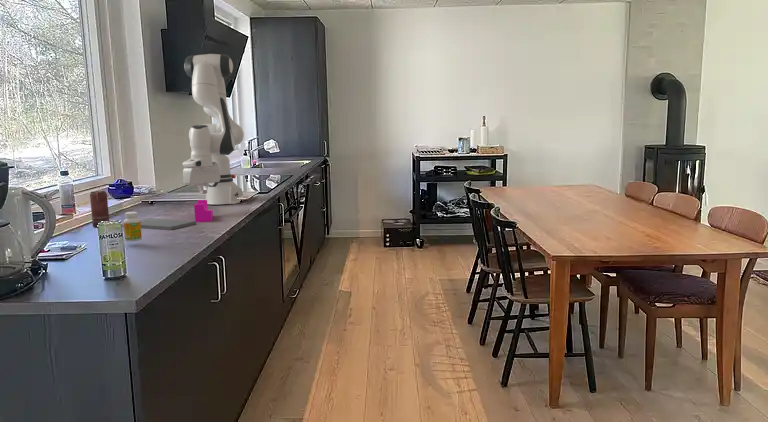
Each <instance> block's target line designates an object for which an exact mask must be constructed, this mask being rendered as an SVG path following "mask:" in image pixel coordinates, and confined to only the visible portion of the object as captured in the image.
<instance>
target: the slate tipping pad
mask: <svg viewBox="0 0 768 422" xmlns="http://www.w3.org/2000/svg"><path fill="white" fill-rule="evenodd" d="M140 222H141V229H150V230H151V229H152V230H166V231H167V230H168V231H173V230H176V229H181V228H185V227H188V226H189V227H190V226H193V225H196V224H197V222H196V221H195V220H183V219H181V220H179V219H169V218H168V219H167V218H153V217H149V218H145V219H140Z"/></svg>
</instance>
